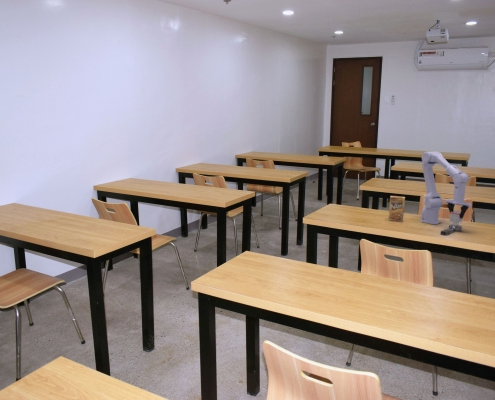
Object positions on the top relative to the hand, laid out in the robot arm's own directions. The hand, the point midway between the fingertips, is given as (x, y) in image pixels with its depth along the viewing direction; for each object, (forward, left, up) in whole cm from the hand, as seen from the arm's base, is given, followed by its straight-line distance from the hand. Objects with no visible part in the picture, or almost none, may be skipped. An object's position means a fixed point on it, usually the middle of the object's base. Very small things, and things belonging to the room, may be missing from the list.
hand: (456, 217), depth 253 cm
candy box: (-34, -7, -8) cm, 36 cm away
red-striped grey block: (0, 0, -2) cm, 2 cm away
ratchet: (0, -6, -8) cm, 10 cm away
